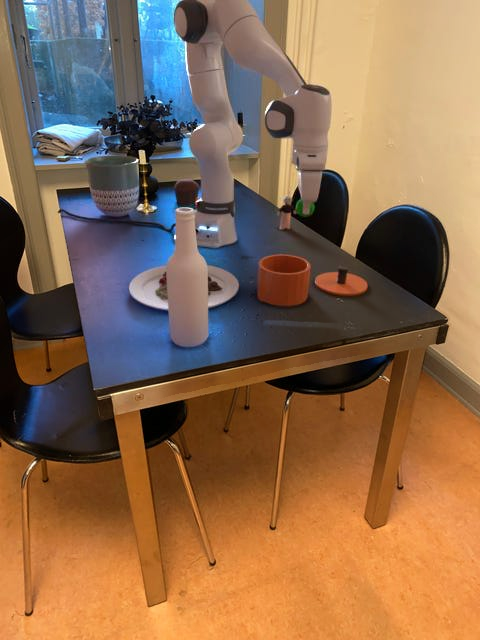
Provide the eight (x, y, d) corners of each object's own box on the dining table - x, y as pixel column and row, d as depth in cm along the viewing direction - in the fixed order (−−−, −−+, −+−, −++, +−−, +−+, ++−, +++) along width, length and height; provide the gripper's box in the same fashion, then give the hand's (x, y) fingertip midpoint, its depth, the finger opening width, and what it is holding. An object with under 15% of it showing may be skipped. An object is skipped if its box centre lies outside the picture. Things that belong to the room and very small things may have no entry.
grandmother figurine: (280, 231, 176) (282, 197, 169) (274, 228, 179) (276, 195, 172) (297, 228, 179) (299, 195, 173) (291, 225, 182) (294, 193, 176)
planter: (117, 225, 177) (111, 167, 167) (81, 216, 186) (73, 161, 175) (152, 213, 192) (148, 159, 181) (117, 205, 201) (111, 153, 190)
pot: (256, 306, 122) (258, 273, 117) (257, 284, 134) (259, 253, 129) (308, 308, 121) (312, 275, 117) (305, 286, 133) (308, 255, 128)
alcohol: (212, 345, 105) (211, 214, 90) (173, 350, 102) (166, 217, 88) (203, 326, 112) (201, 202, 97) (167, 331, 110) (159, 205, 95)
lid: (317, 296, 128) (319, 277, 125) (312, 275, 140) (314, 256, 138) (371, 299, 127) (374, 279, 124) (362, 277, 140) (364, 259, 137)
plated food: (195, 328, 111) (195, 315, 110) (105, 296, 125) (104, 285, 123) (258, 284, 134) (259, 273, 132) (176, 261, 147) (176, 251, 146)
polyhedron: (314, 214, 127) (316, 197, 125) (312, 219, 123) (314, 201, 121) (296, 212, 128) (297, 195, 126) (293, 217, 124) (295, 200, 122)
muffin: (169, 204, 204) (168, 181, 199) (179, 198, 213) (178, 176, 208) (194, 207, 201) (194, 183, 196) (204, 200, 210) (203, 178, 205)
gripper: (294, 149, 127) (290, 199, 134) (299, 163, 110) (295, 221, 116) (317, 149, 127) (312, 200, 134) (326, 164, 109) (320, 221, 116)
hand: (304, 210), depth 125 cm, fingers closed on polyhedron, 5 cm apart
